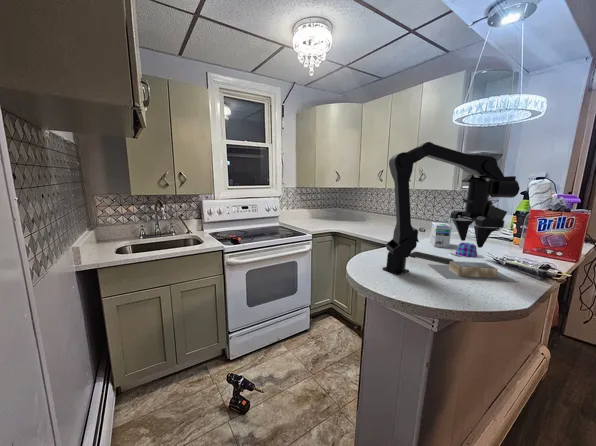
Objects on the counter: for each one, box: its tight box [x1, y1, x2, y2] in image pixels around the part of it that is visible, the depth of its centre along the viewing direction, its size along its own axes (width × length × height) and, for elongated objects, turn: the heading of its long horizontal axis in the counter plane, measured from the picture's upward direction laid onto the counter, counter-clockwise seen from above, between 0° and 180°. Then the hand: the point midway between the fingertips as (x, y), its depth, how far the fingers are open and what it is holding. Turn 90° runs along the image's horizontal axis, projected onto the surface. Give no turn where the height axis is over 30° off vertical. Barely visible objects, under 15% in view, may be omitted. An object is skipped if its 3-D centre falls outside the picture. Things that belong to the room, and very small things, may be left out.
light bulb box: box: [429, 221, 453, 249], centre depth 124 cm, size 11×7×11 cm, turn 164°
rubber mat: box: [427, 263, 520, 283], centre depth 86 cm, size 22×14×1 cm, turn 86°
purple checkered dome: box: [450, 242, 484, 259], centre depth 108 cm, size 12×12×5 cm
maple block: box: [448, 260, 499, 278], centre depth 84 cm, size 3×6×12 cm
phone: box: [408, 251, 454, 265], centre depth 101 cm, size 8×1×15 cm
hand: (470, 243), depth 83 cm, fingers open, 9 cm apart
